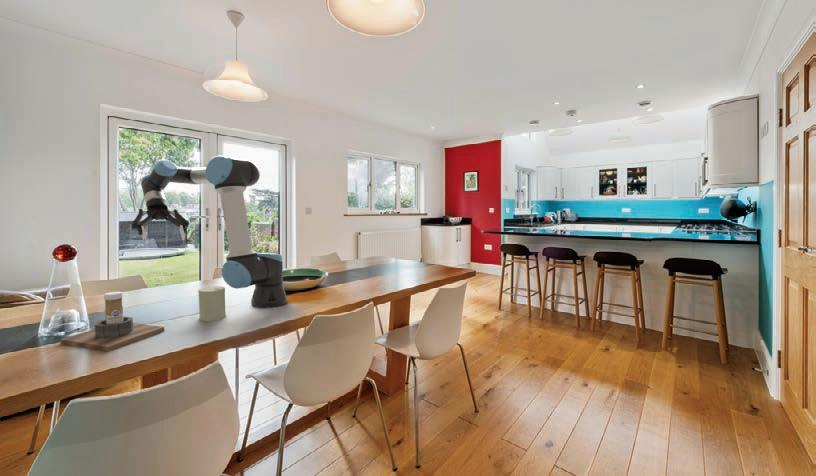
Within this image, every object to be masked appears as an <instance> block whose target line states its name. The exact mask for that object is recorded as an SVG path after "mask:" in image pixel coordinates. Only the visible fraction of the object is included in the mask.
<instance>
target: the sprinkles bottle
mask: <svg viewBox="0 0 816 476" xmlns="http://www.w3.org/2000/svg"><path fill="white" fill-rule="evenodd" d="M103 299H104V302H105V303H104V306H105V310H104V312H105V313H104V314H105V315H104V316H105V319H106V325H109V324H117V323H121V322H123V317H124V309H123V308H124V307H123V292H122V291H112V292H111V291H110V292H105V293H104V295H103Z"/></svg>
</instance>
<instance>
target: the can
mask: <svg viewBox="0 0 816 476" xmlns="http://www.w3.org/2000/svg"><path fill="white" fill-rule="evenodd" d="M198 307H199V318H198V320H199V321H201V322H214V321H219V320H223V319H224V318H226V317H227V314H226V313H227V312H226V287H225V286H220V285H219V286H218V285H217V286H215V285H214V286H204V287H201V288H199V289H198Z"/></svg>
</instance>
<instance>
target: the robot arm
mask: <svg viewBox="0 0 816 476" xmlns="http://www.w3.org/2000/svg"><path fill="white" fill-rule="evenodd" d="M260 176H261V173H260V169H259V167H258V166H257V164H255V163H254V162H253V161H250V160H248V159H243V158H237V157H232V156H229V155H215V156H213V157H211V158H210V159H209V161H208V163H207V164H206V167H180V166H177V164H175V163H174V162H173V161H171V160H170V161H169V160H168V159H161V160H159V161H158V162H157V163H156V165H154V167H153V169H152V171H151V172H150V174H147V175H145V176H143V177H142V178H141V179H140V183H141V184H140V185H141V189H142V194H143V196H144V201H145V206H146V210H143V208H140V209H138V213H137V215H136V217H135V218H134V220H133V222H132V223H131V229H132V230H135V229H136V231H137V233H138V236H141V237H142V242H143V243H147V236H146V235H147V234H146V230H145V227H146V225H148V224H149V223H150V222H152V221H153V220H155V221H159V220H160V221H164V220H165V221H167V222H170V223H172V224H173V225H175V226H177V227H178V228H179V232H180V237H181V239H182V241H185V240H186V233H187V228H189V226H190V222H189V221H188V220H187V219H186V218H184V217H183V216H182V214H180V213H179V211H178V209H173V210H169V207H168V203H167V199H166V196H165V193H164V192H165V191H164V190H165V188H166V187H167V186H168V184H169V183H175V184H189V185H201V184H212V185H213V186H214V191H215V192H216V193H217V194H219V195H220V201H221V208H222V209H221V210H222V215H223V220H224V227H225V232H226V239H227V244H228V251H229V253H227V255H226V257H225V258H226V262H224V263H223V265H222V267H221V276H222V279H223V281H224V283H226V285H228V286H229V287H231V288H233V289H244V288H245V289H246V288H248V287H252V286H254V290H253V293H252V297H251V300H250V301H251V303H250V304H251V306H252V307H255V308H274V307H279V306H283V305H285V304H287V302H288V296H287V294H286V291H285V289H284V288H285V287H284V284H283V283H284V281H283V278H284V277H283V276H284V275H283V273H284V272H283V269H284V268H283V266H284V265H283V264H284V262H283V256H282V255H281V254H280V253H276V252H275V253H274V252H273V253H271V252H257V251H256V250H254V249H253V245H252V239H251V232H250V226H249V221H248V215H247V208H246V207H247V206H246V203H245V197H244V195H245V194H244V192H245V191H246V189H247V187H252V186H254V185H255V184H256V183H258V182H259V179H260ZM145 215H147V216H146V217H145V218H144V219H143V220H142V218H143V217H144V216H145Z"/></svg>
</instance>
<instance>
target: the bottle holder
mask: <svg viewBox="0 0 816 476" xmlns="http://www.w3.org/2000/svg"><path fill="white" fill-rule="evenodd" d="M133 320H134V318H133V317H132V316H124V315H123V322H121V323H117V324H109V325H106V318H105V319H102V320H98V321H97V322H96V323H95V324H94V328H93V329H91V330H87V331H84V332H80V333H77V334H74V335H69V336H67V337H63V338H61V339H59V344H60V345H66V346H69V347H70V346H72V347H75V348H76V347H77V348H84V349H90V350H95V351H103V352H111V351H114V350H115V349H116V350H117V349H119V348H121V347H124V346H127V345H130V344H133V343H135V342H137V341H141V340H143V339H147V338H149V337H152V336H154V335H157V334H160V333H164V332H165V326H161V325H151V324H145V323H144V324H143V323H137V322H133Z"/></svg>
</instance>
